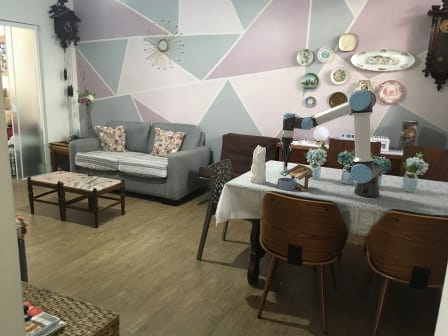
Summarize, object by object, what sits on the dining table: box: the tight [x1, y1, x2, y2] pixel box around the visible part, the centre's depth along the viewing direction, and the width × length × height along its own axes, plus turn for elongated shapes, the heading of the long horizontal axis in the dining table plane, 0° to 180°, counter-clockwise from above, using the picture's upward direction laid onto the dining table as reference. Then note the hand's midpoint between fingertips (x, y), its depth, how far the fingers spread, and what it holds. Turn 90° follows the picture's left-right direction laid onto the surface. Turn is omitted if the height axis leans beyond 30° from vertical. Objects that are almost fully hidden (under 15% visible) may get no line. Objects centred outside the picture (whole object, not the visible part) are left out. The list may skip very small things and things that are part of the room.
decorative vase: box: [249, 144, 267, 185], centre depth 247 cm, size 11×11×25 cm
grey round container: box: [276, 177, 298, 191], centre depth 236 cm, size 11×11×6 cm
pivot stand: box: [290, 175, 312, 193], centre depth 238 cm, size 20×6×10 cm, turn 17°
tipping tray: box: [279, 163, 314, 181], centre depth 240 cm, size 23×13×6 cm, turn 17°
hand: (284, 170), depth 247 cm, fingers closed
